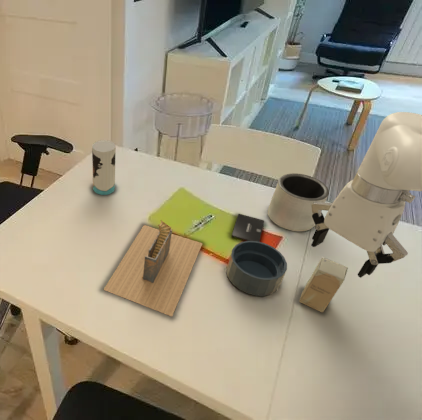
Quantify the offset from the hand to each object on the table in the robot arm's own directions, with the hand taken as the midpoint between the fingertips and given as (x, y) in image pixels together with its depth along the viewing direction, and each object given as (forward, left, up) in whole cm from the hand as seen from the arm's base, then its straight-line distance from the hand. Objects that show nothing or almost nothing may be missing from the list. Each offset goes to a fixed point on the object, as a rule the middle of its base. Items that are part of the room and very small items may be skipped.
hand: (338, 258), depth 73 cm
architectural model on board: (+27, +23, -14) cm, 38 cm away
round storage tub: (+12, +6, -14) cm, 19 cm away
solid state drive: (+24, -6, -14) cm, 29 cm away
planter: (+21, -20, -14) cm, 33 cm away
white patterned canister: (+61, +17, -14) cm, 65 cm away
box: (0, 0, -14) cm, 14 cm away
